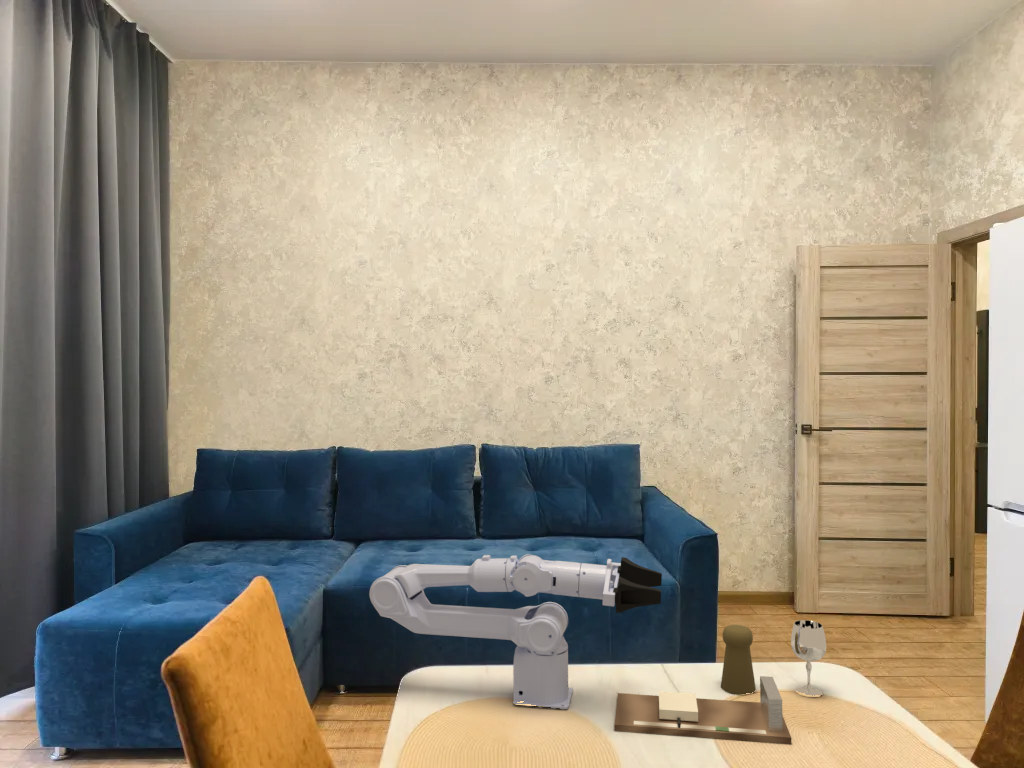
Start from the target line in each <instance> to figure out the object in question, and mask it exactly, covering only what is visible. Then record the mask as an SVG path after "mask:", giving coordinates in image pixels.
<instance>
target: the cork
mask: <svg viewBox="0 0 1024 768" xmlns="http://www.w3.org/2000/svg"><path fill="white" fill-rule="evenodd" d="M753 639H754V635H753V633H752V631H751V629H750V628H748V627H747V626H744V625H742V624H741V625H740V624H729V625H726V626H725V627H724V628H723V631H722V640H723V642H724V644H725V650H724V658H723V665H722V673H721V683H720V689H721V690H722V691H724V692H725V693H728V694H731V695H735V694H746V693H752V692H754V691H755V690H757V688H756V682H755V674H754V668H753V660H752V653H751V646H752V644H753Z"/></svg>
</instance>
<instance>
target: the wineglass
mask: <svg viewBox="0 0 1024 768" xmlns="http://www.w3.org/2000/svg"><path fill="white" fill-rule="evenodd" d="M792 625H793V626H792V629H791V637H790V645H791V650H792V652H793V653H794V656H796V657H798V658H799V659H800V660H802V661H806V663H805V669H806V673H807V674H806V675H807V684H806V686H799V687H797V688H795V692H796V691H798V692H801V693H805V694H806V695H812V696H813V695H814V696H815V695H822V696H823V692H822V690H820V689H818V688H815V687H812V684H811V672H812V670H813V669H812V662H817V661H819V660H822V658H823V657H824V656H825V655H826V653H827V639H826V633H825V630H824V627H823V624H822V623H820V622H819V621H818V622H817V621H813V620H806V619H802V620H801V619H799V620H796V621H794V622H793V624H792Z"/></svg>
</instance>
